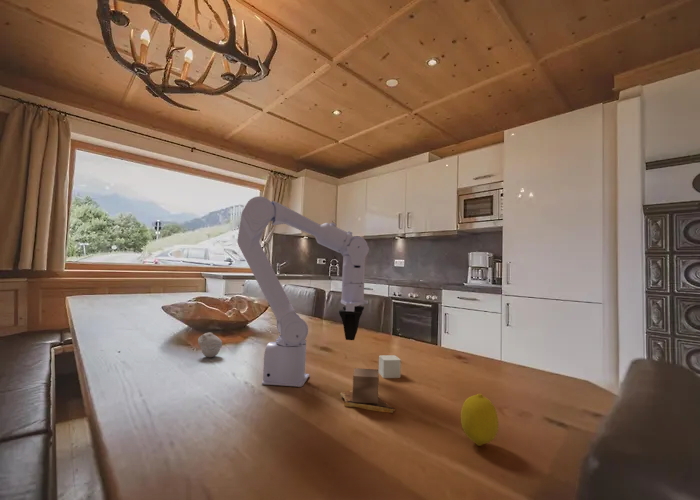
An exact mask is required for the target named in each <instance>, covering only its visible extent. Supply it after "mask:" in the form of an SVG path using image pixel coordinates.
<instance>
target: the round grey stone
mask: <svg viewBox="0 0 700 500" xmlns="http://www.w3.org/2000/svg"><path fill="white" fill-rule="evenodd" d="M197 343H198V347H200V349H201V354H202V355H203V356H204V357H206V358H215V356H217V355H218V354H219V352H220V350H221V349H222V346H223V340H221V338H220V337H218V336H217V335H216V334H214V333H213V332H205V333H204V334H202V335H200V336H199V337H198V339H197Z"/></svg>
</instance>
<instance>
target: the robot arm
mask: <svg viewBox="0 0 700 500" xmlns="http://www.w3.org/2000/svg"><path fill="white" fill-rule="evenodd" d="M270 222H272V223H271V224H272V226H279V225H287V226H289V227H291V228H294V229H297V230H298V231H301V232H303V233H306V234H308V235H311V236H313V237H314V238H315V241H316V243H317V244H318V245H321V246H322V247H326V248H328V249H330V250H332V251H335V252H336V253H339V254H340V255H341V256H342V257H343V258H342V259H343V261H342V277H341V282H342V283H341V299H340V304H341V305H344V306H343V307H342V308H343V309H339V310H338V313H339V316H340V318H341V322H342V325H343V331H344V332H343V333H344V338H345V341H355V338H356V334H357V333H358V329H359V323H360V318H361V317H362V314H363V311H364V309H365V306H363V305H368V304H369V300H365V276H366V275H365V273H366V272H365V271H366V269H365V268H366V262H365V261H366V257H367V255H368V254H369V251H370V247H369V245H368V242H367V241H366V239H365V238H364V237H362V236H358V235H356V236H353V232H351V231H350V230H349V231H345V230H343V229H341V228H340V227H337V223H334V222H333V221H332V222H330V223H329V222H324V223H322V224H319V223H318V222H316V221H314V220H312V219H310V218H308V217H307V216H305V215H302V214H301V213H299V212H297V211H295V210H293V209H291V208H289V207H288V206H285V205H283V204H281V203H280V202H278V201H274V200H269V198H267V197H265V196H260V195H259V196H254V197H252V198H250V199H249V200H248V201H247V203H246V204H245V206H244V208H243V209H242V212H241V215H240V224H239V229H238V233H237V235H238V236H237V244H238V247H239V250H240V251H241V253H242V255H243V257H244V260H245V261H246V263H247V264H248V266H249V268H250V271H251V273H252V275H253V276H254V278H255V280H256V281H257V284H258V286H259V288H260V290H261V292H262V293H263V296H264V298H265V300H266V301H267V303H268V305H269V307H270V309H271V311H272V314H273V316H274V317H275V320H276V329H277V331H278V333H279V336H278V337H277V338H276V339H275V341H270V342H268V343H266V347H265V348H264V354H263V356H264V357H263V373H262V375H263V376H262V381H261V384H262V385H269V386H270V385H271V386H285V387H297V388H298V387H299V388H300V387H303V386H304V385H305V383H306V382H307V380H308V378H309V376H310V373H306V362H307V360H306V359H307V358H306V357H307V339H306V338H307V337H308V335H309V334H308V333H309V327H308V324H307V322H306V321H305V320H304V319H303V318H302V317H300V315H299V314H297V312H296V309H295V307H293V305H292V303H291V302H290V300H289V297H288V296H287V294H286V292H285V290H284V288H283V286H282V284H281V282H280V280H279V278H278V276H277V274H276V273H275V269H273V266H272V265H271V262H270V261H269V259H268V257H267V255H266V253H265V251H264V249H263V246H262V245H261V243H260V241H261V238H262V236H263V233H264V232H265V229H266V228H267V226H268V225H269V223H270ZM361 305H362V306H361Z"/></svg>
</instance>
